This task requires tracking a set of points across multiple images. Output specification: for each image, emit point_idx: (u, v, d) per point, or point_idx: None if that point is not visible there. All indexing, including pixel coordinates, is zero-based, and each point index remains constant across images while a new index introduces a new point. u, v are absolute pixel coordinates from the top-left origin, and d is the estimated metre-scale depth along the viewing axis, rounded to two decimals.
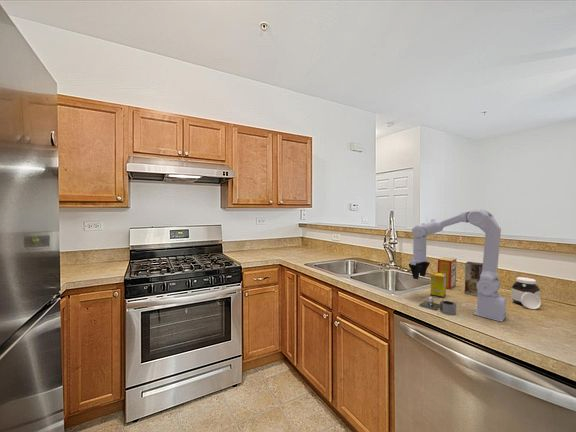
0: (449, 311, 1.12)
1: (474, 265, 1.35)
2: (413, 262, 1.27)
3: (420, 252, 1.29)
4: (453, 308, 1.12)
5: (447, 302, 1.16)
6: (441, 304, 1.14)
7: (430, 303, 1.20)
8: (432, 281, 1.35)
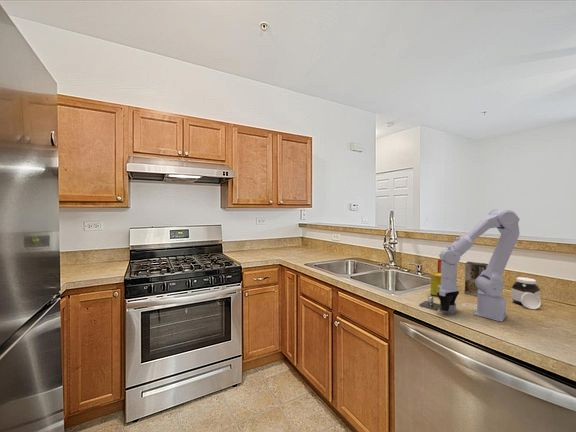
0: (449, 311, 1.12)
1: (474, 265, 1.35)
2: (442, 293, 1.09)
3: (450, 280, 1.11)
4: (453, 308, 1.12)
5: None
6: None
7: (430, 303, 1.20)
8: (432, 281, 1.35)
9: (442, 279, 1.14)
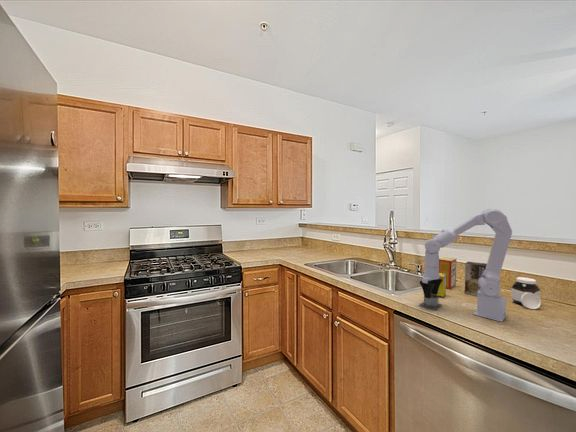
0: (432, 303, 1.18)
1: (474, 265, 1.35)
2: (425, 280, 1.16)
3: (432, 269, 1.18)
4: (435, 300, 1.18)
5: None
6: None
7: None
8: None
9: (425, 268, 1.20)
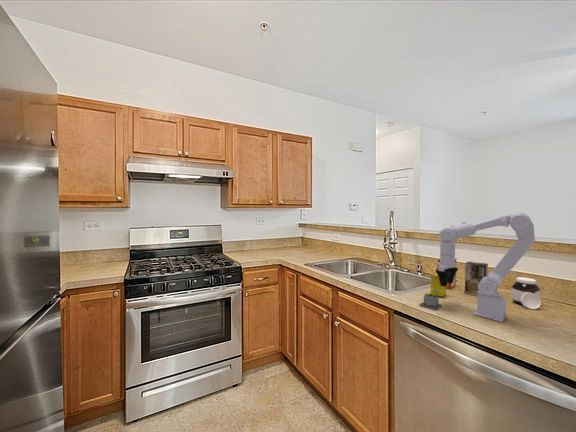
0: (432, 303, 1.18)
1: (474, 265, 1.35)
2: (441, 268, 1.16)
3: (448, 257, 1.18)
4: (435, 300, 1.18)
5: (430, 295, 1.23)
6: (425, 297, 1.21)
7: None
8: (432, 281, 1.35)
9: (441, 256, 1.20)
